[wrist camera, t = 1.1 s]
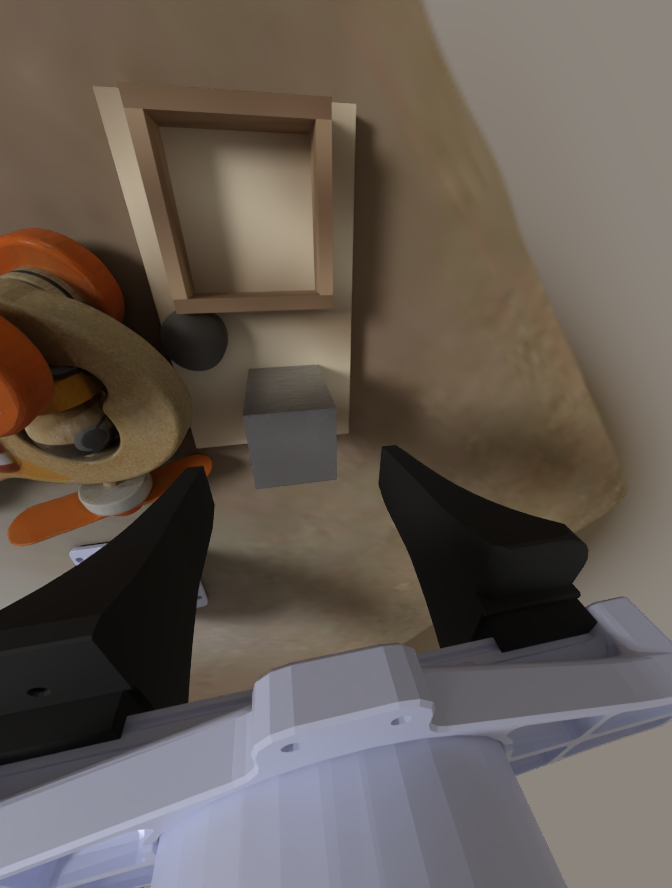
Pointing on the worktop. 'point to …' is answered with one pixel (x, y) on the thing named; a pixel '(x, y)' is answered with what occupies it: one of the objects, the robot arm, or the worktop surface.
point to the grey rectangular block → (290, 426)
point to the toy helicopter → (81, 390)
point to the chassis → (240, 235)
